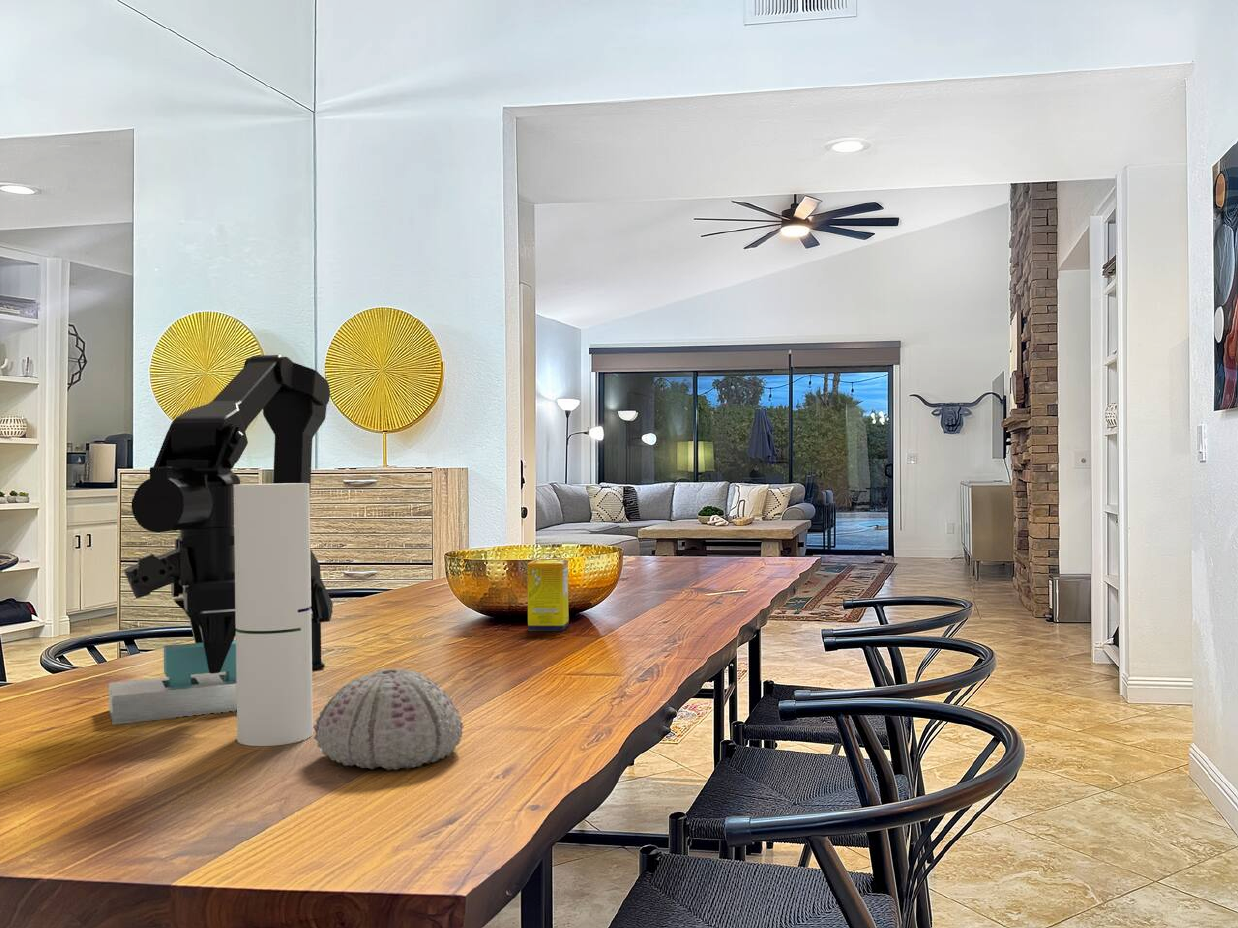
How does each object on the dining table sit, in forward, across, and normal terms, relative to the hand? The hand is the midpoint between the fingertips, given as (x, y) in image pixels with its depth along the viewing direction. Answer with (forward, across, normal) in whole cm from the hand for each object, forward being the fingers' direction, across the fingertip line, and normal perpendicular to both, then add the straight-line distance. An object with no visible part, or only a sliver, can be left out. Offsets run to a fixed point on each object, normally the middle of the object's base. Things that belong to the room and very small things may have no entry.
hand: (209, 666), depth 120 cm
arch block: (+4, 0, 0) cm, 5 cm away
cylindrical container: (+5, +18, +4) cm, 19 cm away
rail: (+4, 0, 0) cm, 4 cm away
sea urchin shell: (+5, +31, +12) cm, 34 cm away
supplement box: (+5, -33, +56) cm, 65 cm away
